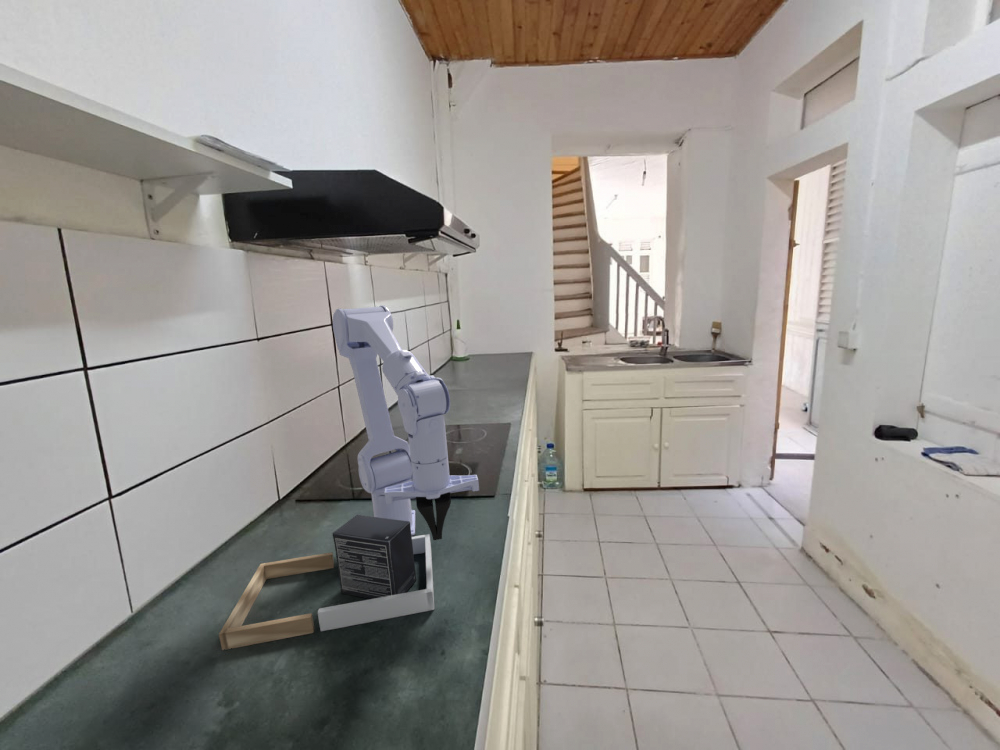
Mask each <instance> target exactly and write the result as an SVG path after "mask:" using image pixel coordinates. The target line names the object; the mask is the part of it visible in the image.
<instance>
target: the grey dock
mask: <svg viewBox="0 0 1000 750" xmlns="http://www.w3.org/2000/svg"><path fill="white" fill-rule="evenodd" d="M430 534H431V533H427V534H422V535H416V536H414V535H413V536H412V545H413V554H414V555H418V554H425V574H426V575H425V576H426V588H425V589H420V590H419V589H418V590H415V591H414V590H413V591H410V592H408V591H407V592H406V593H402V594H396V595H391V596H385V597H380V598H374V599H363V600H359V601H354V602H353V601H352V602H348V603H343V604H337V605H331V606H326V607H320V608H318V610H317V616H318V623H319V628H320V629H319V630H320V632H325V631H330V630H331V631H332V630H335V629H342V628H346V627H350V626H351V627H352V626H355V625H357V626H358V625H362V624H367V623H372V622H377V621H378V622H379V621H382V620H387V619H394V618H398V617H404V616H408V615H409V616H410V615H413V614H418V613H424V612H429V611H434V610H435V597H434V595H435V594H434V579H433V560H432V559H433V558H432V544H431V535H430Z"/></svg>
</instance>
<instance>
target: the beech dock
mask: <svg viewBox="0 0 1000 750" xmlns="http://www.w3.org/2000/svg"><path fill="white" fill-rule="evenodd" d="M334 567H335V560H334V554H333V552H332V551H331V552H326V553H320V554H312V555H306V556H300V557H294V558H289V559H281V560H276V561H270V562H264V563H260V564H259V566H258V567H257V569H256V571H255V573H254V574H253V576H252V577H251V580H250V581H249V582H248V585H247V586H246V588H245V589H244V591H243V593H242V595H241V596H240V598H239V600H238V601H237V602H236V605H235V606H234V608H233V609H232V611H231V613H230V615H229V617H228V618H227V620H226V621H225V623H224V625H223V627H222V628H221V630H220V632H219V633H218V637H219V642H220V647H221V651H226V650H230V649H231V648H232V649H237V648H241V647H247V646H251V645H252V646H253V645H257V644H263V643H267V642H272V641H273V642H274V641H277V640H283V639H287V638H288V639H289V638H293V637H297V636H304V635H309V634H313V633H314V632H315V625H314V624H315V623H314V618H313V617H314V616H313V613H312V612H311V613H304V614H298V615H293V616H289V617H285V618H277V619H273V620H267V621H262V622H257V623H250V624H246V625H243V623H244V622H245V620H246V619H247V616H248V614H249V612H250V611H251V609H252V607H253V605H254V603H255V601H256V600H257V597H259V594H260V592H261V590H262V588H263V587H264V585H265V582H266V581H267V580H269V579H275V578H281V577H286V576H295V575H300V574H305V573H310V572H317V571H323V570H329V569H334ZM224 649H225V650H224Z"/></svg>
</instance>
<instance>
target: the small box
mask: <svg viewBox="0 0 1000 750" xmlns="http://www.w3.org/2000/svg"><path fill="white" fill-rule="evenodd" d="M412 537H413V535H412V536H411V528H410V521H402V520H394V519H386V518H378V517H374V516H370V515H361V514H356V515H355V516H353V517H352V518H351V519H349V520H348V521H346V522H345V523H344V524H343V525H341V526H339V528H337V529H336V530H334V531H333V532H332V539H333V543H334V549H335V556H336V563H337V570H338V571H337V572H338V578H339V586H340V593H341V594H346V595H348V596H354V597H359V598H365V599H367V600H369V599H374V598H380V597H385V596H391V595H396V594H402V593H407V592H408V591H409V589H411V587H412V586H413V584H414V583H415V582H416V581H417V575H416V572H417V571H416V566H415V556H414V555H415V554H413V545H412Z"/></svg>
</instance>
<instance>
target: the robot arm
mask: <svg viewBox="0 0 1000 750" xmlns="http://www.w3.org/2000/svg"><path fill="white" fill-rule="evenodd" d="M332 315H333V316H332V329H333V330H332V331H333V335H334V338H335V344H336V346H337V350H338V353H339V355H340V356H341V357H344V358H347V359H348V360H349V363H350V366H351V367H350V368H351V369H352V370H351V371H352V373H353V377H354V382H355V385H356V390H357V394H358V399H359V405H360V409H361V412H362V417H363V421H364V426H365V429H366V434H367V438H368V439H367V440H368V441H367V442H366V444H365V445H364V446H363V447H362V448H361V450H360V451H359V452H358V454H357V459H356V460H357V464H358V465H357V466H358V476H359V481H360V484H361V486H362V488H363V490H364V491H365V492H367V493H369V494H371V501H372V509H373V517H378V518H386V519H394V520H402V521H410V528H411V536H412V537H413V536H414V535H416V510H415V509H412V502H411V499H415V501H416V502H415V503H416V509H417V510H418V512H419V513H420V515H422V517H423V519H424V521H426V524H427V525H428V526H427V527H428V528H429V530H430V534H431V536H432V540H433V541H438V540H442V539H443V527H444V524H445V519H446V516H447V513H448V511H449V509H450V507H451V504H452V498H451V497H452V496H451V494H452V493H459V492H466V491H472V492H479V491H480V484H479V478H478V475H477V474H469V475H456V474H455V475H450V466H449V455H448V443H447V433H446V423H445V421H446V420H445V415H446V414H448V412H450V410H451V395H450V391H449V389H448V387H447V385H446V383H445V381H444V380H443V378H441V377H437V376H436V377H435V375H430V374H428V372H427V371H426V370H425V368H424V366H423V365H422V364H421V363H420V361H419V360H418V359H417V357H416V356H415V355H414V354H413V352H411V351H409V350H407V349H403V348H402V347H401V345H400V343H399V341H398V340H397V338H396V336H395V334H394V332H393V330H394V319H393V316H392V312H391V311H390V310H389V308H388V307H387V306H385V305H379V306H368V307H355V308H343V309H342V308H337V309H335V311H334V312H333V314H332ZM377 356H378V357H379V358H380V359H381V360H382V362H383V363H382V369H381V370H382V373H383V374H384V376H385V377H386V380H387V382H388V383H389V384H390V386H391V387H392V389H393V391H394V392H395V394H396V395H397V406H398V409H399V413H400V416H401V418H402V419H401V420H402V423H403V428H404V431H405V433H407V437H408V441H407V440H404V439H403V438H400V437H398V436H395V433H394V429H393V425H392V421H391V417H390V412H389V408H388V404H387V400H386V395H385V392H384V387H383V383H382V378H381V375H380V374H381V373H380V370H379V365H378V362H377ZM391 451H394V452H391ZM387 452H390V453H387ZM384 453H386V454H384ZM380 454H383V455H380ZM376 455H377V456H376ZM378 455H379V456H378ZM374 456H375V457H374ZM433 501H434V502H433ZM433 503H434V504H433ZM434 506H435V510H434ZM435 513H436V514H435ZM435 515H436V516H435Z"/></svg>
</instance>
